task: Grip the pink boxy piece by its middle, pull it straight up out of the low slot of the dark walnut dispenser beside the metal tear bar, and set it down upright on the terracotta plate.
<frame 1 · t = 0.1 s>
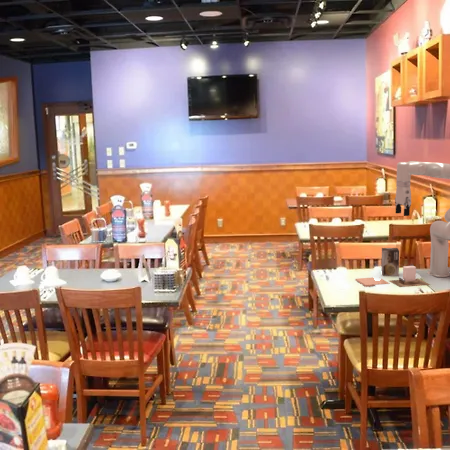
hand: (402, 214, 341), 37 cm above the table, tool pointing down, fingers open, 9 cm apart
serving plate: (372, 282, 338), on the table
coffee box: (389, 276, 351), on the table
pink boxy piece: (409, 282, 333), point 1 cm above the table, touching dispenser
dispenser: (409, 284, 333), on the table
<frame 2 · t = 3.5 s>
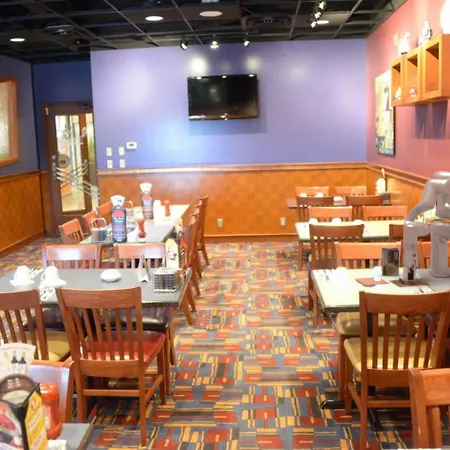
hand: (409, 278, 333), 3 cm above the table, tool pointing down, fingers closed on pink boxy piece, 2 cm apart
pink boxy piece: (408, 282, 333), point 1 cm above the table, touching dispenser, gripper
everything else where it was.
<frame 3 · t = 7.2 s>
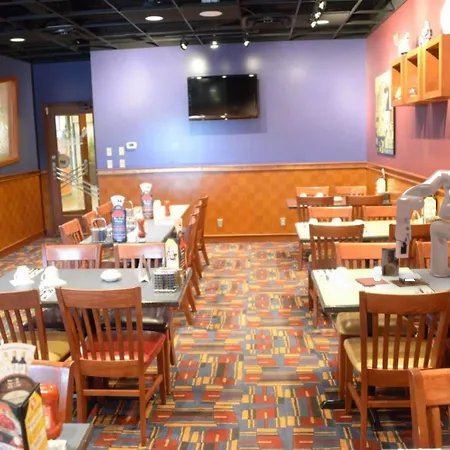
hand: (401, 252, 331), 18 cm above the table, tool pointing down, fingers closed on pink boxy piece, 2 cm apart
pink boxy piece: (401, 257, 331), point 15 cm above the table, touching gripper
everything else where it was.
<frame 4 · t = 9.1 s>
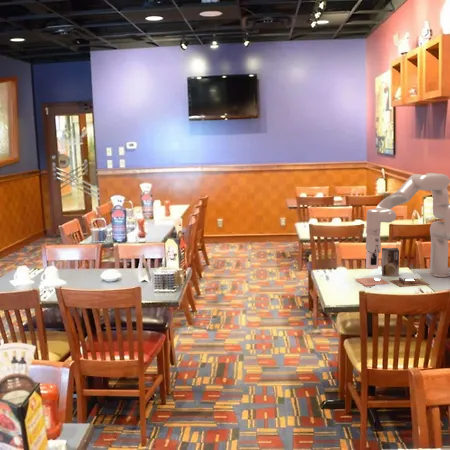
hand: (372, 263, 336), 11 cm above the table, tool pointing down, fingers closed on pink boxy piece, 2 cm apart
pink boxy piece: (371, 268, 336), point 8 cm above the table, touching gripper
everything else where it was.
when the fingers open (4 cm above the table, at t = 10.7 s): pink boxy piece stays where it is, resting on serving plate.
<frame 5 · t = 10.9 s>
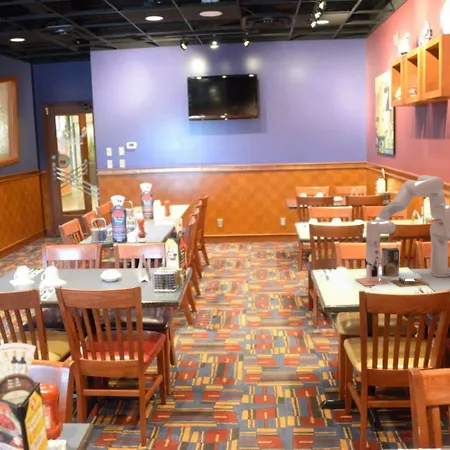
hand: (372, 275, 337), 4 cm above the table, tool pointing down, fingers open, 4 cm apart
pink boxy piece: (372, 280, 337), point 1 cm above the table, touching serving plate
everything else where it was.
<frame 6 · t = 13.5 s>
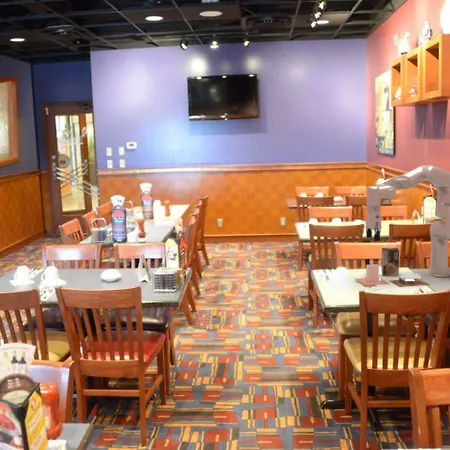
hand: (373, 239, 335), 25 cm above the table, tool pointing down, fingers open, 9 cm apart
nothing on the table moved.
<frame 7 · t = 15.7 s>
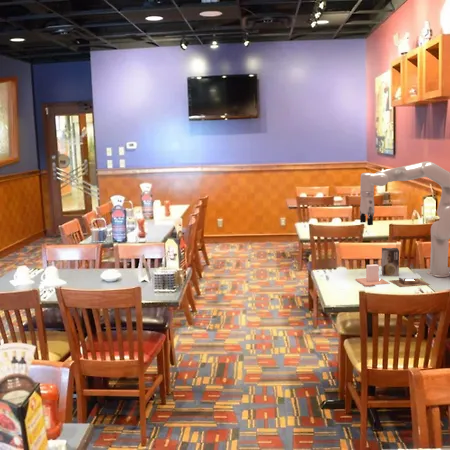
hand: (366, 223, 351), 30 cm above the table, tool pointing down, fingers open, 9 cm apart
nothing on the table moved.
at the end: pink boxy piece inside the target area on the serving plate (0.0 cm from its centre), point 1.0 cm above the serving plate's base; pink boxy piece tilted 0°; the gripper is holding nothing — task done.
